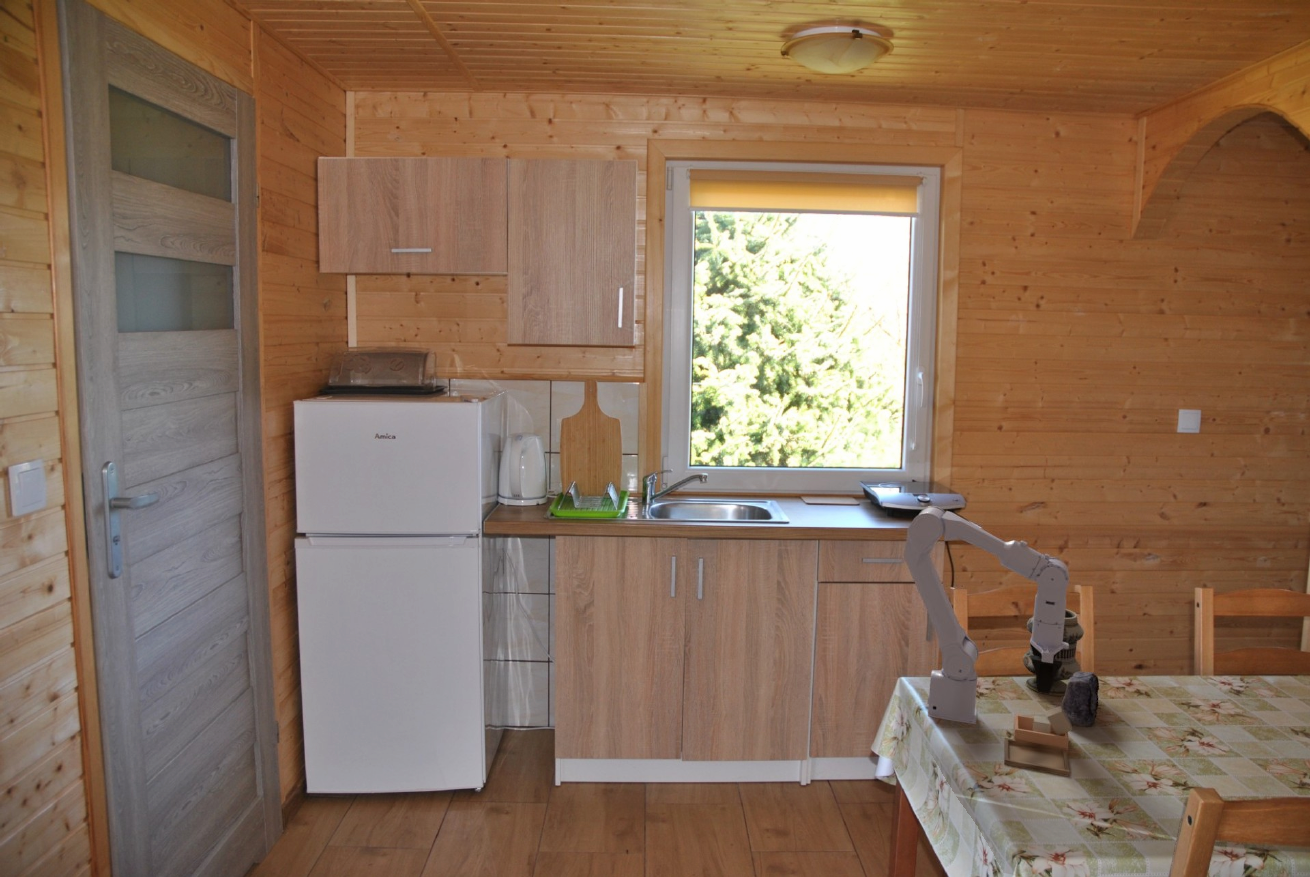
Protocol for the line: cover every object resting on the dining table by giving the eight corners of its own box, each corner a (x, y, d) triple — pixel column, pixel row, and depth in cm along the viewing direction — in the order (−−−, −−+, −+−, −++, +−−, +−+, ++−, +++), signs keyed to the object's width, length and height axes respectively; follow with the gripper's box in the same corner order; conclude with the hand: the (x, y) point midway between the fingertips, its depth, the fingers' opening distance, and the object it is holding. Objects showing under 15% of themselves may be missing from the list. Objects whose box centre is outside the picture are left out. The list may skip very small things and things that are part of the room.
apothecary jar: (1066, 703, 200) (1074, 623, 198) (1012, 686, 208) (1018, 610, 206) (1085, 688, 209) (1093, 612, 207) (1032, 673, 217) (1039, 599, 215)
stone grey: (1034, 721, 179) (1050, 724, 178) (1033, 715, 182) (1050, 718, 181) (1032, 740, 180) (1049, 743, 179) (1032, 734, 183) (1048, 737, 182)
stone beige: (1046, 716, 179) (1062, 711, 177) (1046, 711, 181) (1061, 705, 180) (1057, 735, 178) (1072, 730, 177) (1056, 729, 181) (1071, 724, 180)
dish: (1013, 744, 179) (1015, 729, 179) (1013, 729, 186) (1014, 714, 186) (1067, 754, 176) (1068, 738, 175) (1064, 738, 183) (1066, 722, 182)
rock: (1088, 733, 185) (1092, 684, 184) (1059, 725, 189) (1063, 676, 188) (1100, 717, 193) (1104, 670, 192) (1072, 710, 197) (1076, 664, 196)
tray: (1004, 766, 170) (1004, 759, 170) (1004, 743, 179) (1004, 737, 179) (1068, 778, 166) (1069, 771, 166) (1065, 754, 176) (1066, 748, 175)
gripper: (1073, 634, 174) (1066, 702, 176) (1068, 612, 188) (1062, 676, 190) (1033, 628, 177) (1027, 695, 179) (1031, 607, 190) (1025, 670, 192)
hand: (1042, 685), depth 184 cm, fingers open, 7 cm apart
